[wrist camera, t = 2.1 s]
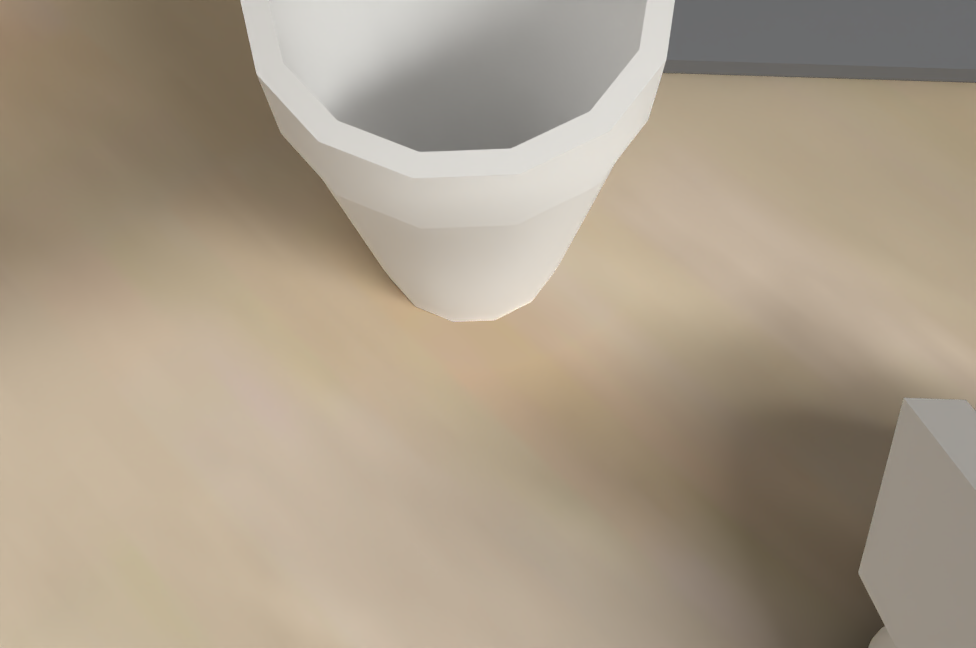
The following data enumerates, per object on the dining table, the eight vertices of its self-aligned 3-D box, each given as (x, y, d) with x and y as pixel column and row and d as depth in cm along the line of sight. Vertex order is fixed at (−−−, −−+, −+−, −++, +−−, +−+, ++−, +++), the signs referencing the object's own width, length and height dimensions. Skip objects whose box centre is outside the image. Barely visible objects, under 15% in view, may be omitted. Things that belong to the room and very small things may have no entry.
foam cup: (372, 101, 34) (305, -207, 22) (620, 141, 33) (696, -153, 21) (309, 341, 31) (189, 141, 19) (581, 390, 30) (644, 216, 18)
